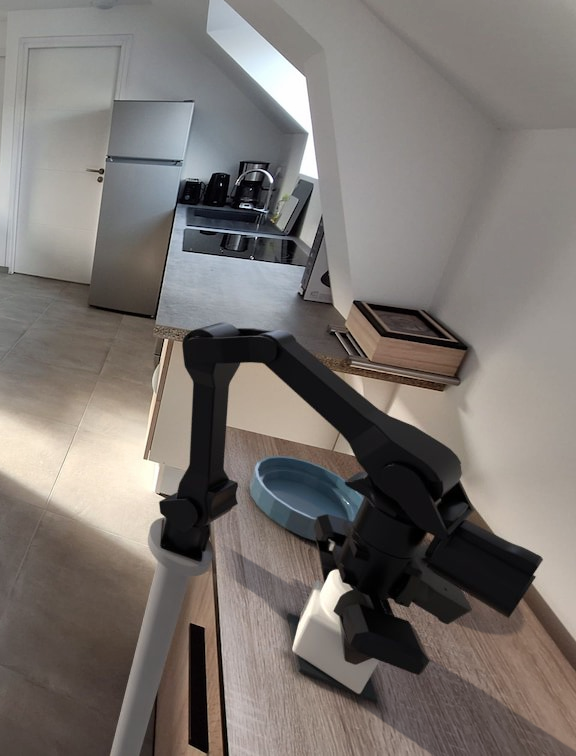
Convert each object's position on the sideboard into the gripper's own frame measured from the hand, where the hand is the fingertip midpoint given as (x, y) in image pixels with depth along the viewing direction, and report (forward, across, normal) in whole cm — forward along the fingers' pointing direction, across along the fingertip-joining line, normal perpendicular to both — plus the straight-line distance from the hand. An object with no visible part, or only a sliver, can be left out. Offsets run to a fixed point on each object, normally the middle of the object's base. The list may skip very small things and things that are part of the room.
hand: (340, 628), depth 58 cm
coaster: (+5, 0, 0) cm, 5 cm away
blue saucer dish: (+5, +29, -2) cm, 30 cm away
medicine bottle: (+5, 0, 0) cm, 5 cm away
